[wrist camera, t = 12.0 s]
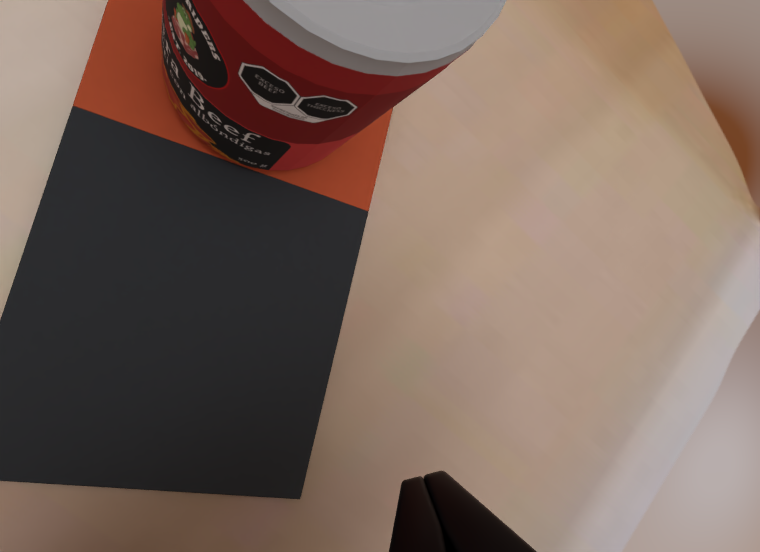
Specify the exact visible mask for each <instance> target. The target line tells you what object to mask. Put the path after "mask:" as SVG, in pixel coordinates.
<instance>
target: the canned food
mask: <svg viewBox="0 0 760 552" xmlns="http://www.w3.org/2000/svg"><path fill="white" fill-rule="evenodd" d="M505 2H506V0H162V35H161V64H162V73H163V80H164V83H165V86H166V89H167V92H168V95H169V98H170V100H171V102H172V104H173V105H174V107H175V109H176V111H177V112H178V114H179V116H180V118H181V119H182V120H183V121H184V123H185V124H186V125H187V126H188V127H189V129H190V130H191V131H192V132H193V133H194V135H196V136H197V137H198V138H199V139H200V140H202V141H203V142H204V143H205V144H206V145H208V146H209V147H210V148H211V149H212V150H214V151H216V152H217V153H219V154H221V155H222V156H224V157H226V158H228V159H229V160H232V161H235V162H237V163H240V164H243V165H245V166H248V167H253V168H259V169H264V170H292V169H297V168H302V167H306V166H309V165H311V164H313V163H316V162H318V161H320V160H322V159H324V158H325V157H326V156H328V155H329V154H330V153H332V152H333V151H335V150H336V149H337V148H339V147H340V146H341V145H343V144H344V143H345V142H347V141H348V140H349V139H351V138H352V137H353V136H355V135H356V134H358V133H359V132H360V131H362V130H363V129H364V128H366V127H367V126H368V125H370V124H371V123H372V122H374V121H375V120H376V119H378V118H379V117H380V116H382V115H383V114H384V113H386V112H387V111H389V110H390V109H391V108H393V107H394V106H395V105H397V104H398V103H399V102H401V101H402V100H403V99H405V98H406V97H407V96H409V95H410V94H411V93H413V92H414V91H415V90H417V89H418V88H420V87H421V86H422V85H424V84H425V83H426V82H428V81H429V80H430V79H432V78H433V77H434V76H436V75H437V74H438V73H440V72H441V71H442V70H444V69H445V68H446V67H447V66H448V65H449V64H450V63H452V62H453V61H454V60H456V59H457V58H458V57H460V56H461V55H462V54H464V53H465V52H466V51H468V50H469V49H470V48H471V47H472V45H473V44H474V43H475V42H476V41H477V40H478V39H479V38H480V37H482V36H483V34H484V33H485V32H486V31H487V30H488V28H489V27H490V26H491V25H492V24H493V22H494V21H495V20H496V19H497V18H498V16H499V14H500V12H501V10H502V8H503V6H504V4H505Z"/></svg>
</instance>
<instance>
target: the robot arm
mask: <svg viewBox="0 0 760 552" xmlns="http://www.w3.org/2000/svg"><path fill="white" fill-rule="evenodd" d="M389 552H536V551H535V550H534V549H533V548H532V547H531V546H530V545H528V544H527V543H526V542H525V541H524V540H523V539H522V538H520V537H519V536H518V535H517V534H516V533H515V532H514V531H512V530H511V529H510V528H509V527H508V526H507V525H506V524H504V523H503V522H502V521H501V520H500V519H499V518H498V517H496V516H495V515H494V514H493V513H492V512H491V511H490V510H488V509H487V508H486V507H485V506H484V505H483V504H482V503H480V502H479V501H478V500H477V499H476V498H475V497H474V496H472V495H471V494H470V493H469V492H468V491H467V490H466V489H464V488H463V487H462V486H461V485H460V484H459V483H458V482H456V481H455V480H454V479H453V478H452V477H451V476H449V475H448V474H447V473H446V472H444V471H438V472H434V473H430V474H427V475H425V476H424V479H423V478H422V477H421V476H419V477H415V478H411V479H407V480H404V481H403V482H402V484H401V489H400V494H399V500H398V505H397V511H396V516H395V522H394V527H393V533H392V538H391V543H390V549H389Z"/></svg>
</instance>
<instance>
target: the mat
mask: <svg viewBox="0 0 760 552" xmlns="http://www.w3.org/2000/svg"><path fill="white" fill-rule="evenodd" d="M367 215H368V211H366V210H363V209H360V208H357V207H355V206H352V205H349V204H346V203H343V202H341V201H338V200H335V199H332V198H330V197H327V196H324V195H321V194H318V193H316V192H313V191H310V190H307V189H304V188H302V187H299V186H296V185H293V184H290V183H288V182H285V181H282V180H279V179H276V178H274V177H271V176H268V175H265V174H263V173H260V172H257V171H254V170H251V169H249V168H246V167H243V166H240V165H237V164H235V163H232V162H229V161H226V160H223V159H221V158H218V157H215V156H212V155H209V154H207V153H204V152H201V151H198V150H196V149H193V148H190V147H187V146H184V145H182V144H179V143H176V142H173V141H170V140H168V139H165V138H162V137H159V136H156V135H154V134H151V133H148V132H145V131H142V130H140V129H137V128H134V127H131V126H128V125H126V124H123V123H120V122H117V121H115V120H112V119H109V118H106V117H103V116H101V115H98V114H95V113H92V112H89V111H87V110H84V109H81V108H78V107H75V106H73V107H72V110H71V113H70V116H69V119H68V122H67V125H66V127H65V130H64V133H63V136H62V139H61V142H60V145H59V148H58V151H57V154H56V157H55V160H54V163H53V166H52V169H51V172H50V175H49V178H48V181H47V184H46V187H45V190H44V193H43V196H42V199H41V202H40V205H39V208H38V210H37V213H36V216H35V219H34V222H33V225H32V228H31V231H30V234H29V237H28V240H27V243H26V246H25V249H24V252H23V255H22V258H21V261H20V264H19V267H18V270H17V273H16V276H15V279H14V282H13V285H12V288H11V290H10V293H9V296H8V299H7V302H6V305H5V308H4V311H3V314H2V317H1V320H0V481H14V482H30V483H46V484H62V485H79V486H95V487H111V488H127V489H144V490H160V491H176V492H192V493H209V494H225V495H241V496H257V497H274V498H290V499H300V497H301V493H302V489H303V485H304V481H305V476H306V472H307V468H308V464H309V459H310V455H311V451H312V447H313V443H314V438H315V434H316V430H317V426H318V422H319V417H320V413H321V409H322V405H323V401H324V396H325V392H326V388H327V384H328V379H329V375H330V371H331V367H332V363H333V358H334V354H335V350H336V346H337V342H338V337H339V333H340V329H341V325H342V320H343V316H344V312H345V308H346V304H347V299H348V295H349V291H350V287H351V283H352V278H353V274H354V270H355V266H356V262H357V257H358V253H359V249H360V245H361V240H362V236H363V232H364V228H365V224H366V219H367Z"/></svg>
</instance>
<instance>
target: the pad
mask: <svg viewBox="0 0 760 552" xmlns="http://www.w3.org/2000/svg"><path fill="white" fill-rule="evenodd" d="M161 35H162V0H108V3H107V6H106V9H105V12H104V15H103V18H102V21H101V24H100V27H99V30H98V33H97V35H96V38H95V41H94V44H93V47H92V50H91V53H90V56H89V59H88V62H87V65H86V68H85V71H84V74H83V77H82V80H81V83H80V86H79V89H78V92H77V95H76V98H75V101H74V104H73V106H75V107H78V108H81V109H84V110H87V111H89V112H92V113H95V114H98V115H101V116H103V117H106V118H109V119H112V120H115V121H117V122H120V123H123V124H126V125H128V126H131V127H134V128H137V129H140V130H142V131H145V132H148V133H151V134H154V135H156V136H159V137H162V138H165V139H168V140H170V141H173V142H176V143H179V144H182V145H184V146H187V147H190V148H193V149H196V150H198V151H201V152H204V153H207V154H209V155H212V156H215V157H218V158H221V159H223V160H226V161H229V162H232V163H235V164H237V165H240V166H243V167H246V168H249V169H251V170H254V171H257V172H260V173H263V174H265V175H268V176H271V177H274V178H276V179H279V180H282V181H285V182H288V183H290V184H293V185H296V186H299V187H302V188H304V189H307V190H310V191H313V192H316V193H318V194H321V195H324V196H327V197H330V198H332V199H335V200H338V201H341V202H343V203H346V204H349V205H352V206H355V207H357V208H360V209H363V210H366V211H369V207H370V202H371V198H372V194H373V190H374V186H375V181H376V177H377V173H378V169H379V165H380V160H381V156H382V152H383V148H384V143H385V139H386V135H387V131H388V127H389V122H390V118H391V114H392V110H393V108H391V109H390V110H389V111H387V112H386V113H384V114H383V115H382V116H380V117H379V118H378V119H376V120H375V121H374V122H372V123H371V124H370V125H368V126H367V127H366V128H364V129H363V130H362V131H360V132H359V133H358V134H356V135H355V136H353V137H352V138H351V139H349V140H348V141H347V142H345V143H344V144H343V145H341V146H340V147H339V148H337V149H336V150H335V151H333V152H332V153H330V154H329V155H328V156H326V157H325V158H324V159H322V160H320V161H318V162H316V163H313V164H311V165H309V166H306V167H302V168H297V169H292V170H264V169H259V168H253V167H248V166H245V165H243V164H240V163H237V162H235V161H232V160H229V159H228V158H226V157H224V156H222V155H221V154H219V153H217V152H216V151H214V150H212V149H211V148H210V147H209V146H208V145H206V144H205V143H204V142H203V141H202V140H200V139H199V138H198V137H197V136H196V135H194V133H193V132H192V131H191V130H190V129H189V127H188V126H187V125H186V124H185V123H184V121H183V120H182V119H181V118H180V116H179V114H178V112H177V111H176V109H175V107H174V105H173V104H172V102H171V100H170V98H169V95H168V92H167V89H166V86H165V83H164V80H163V73H162V64H161Z"/></svg>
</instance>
